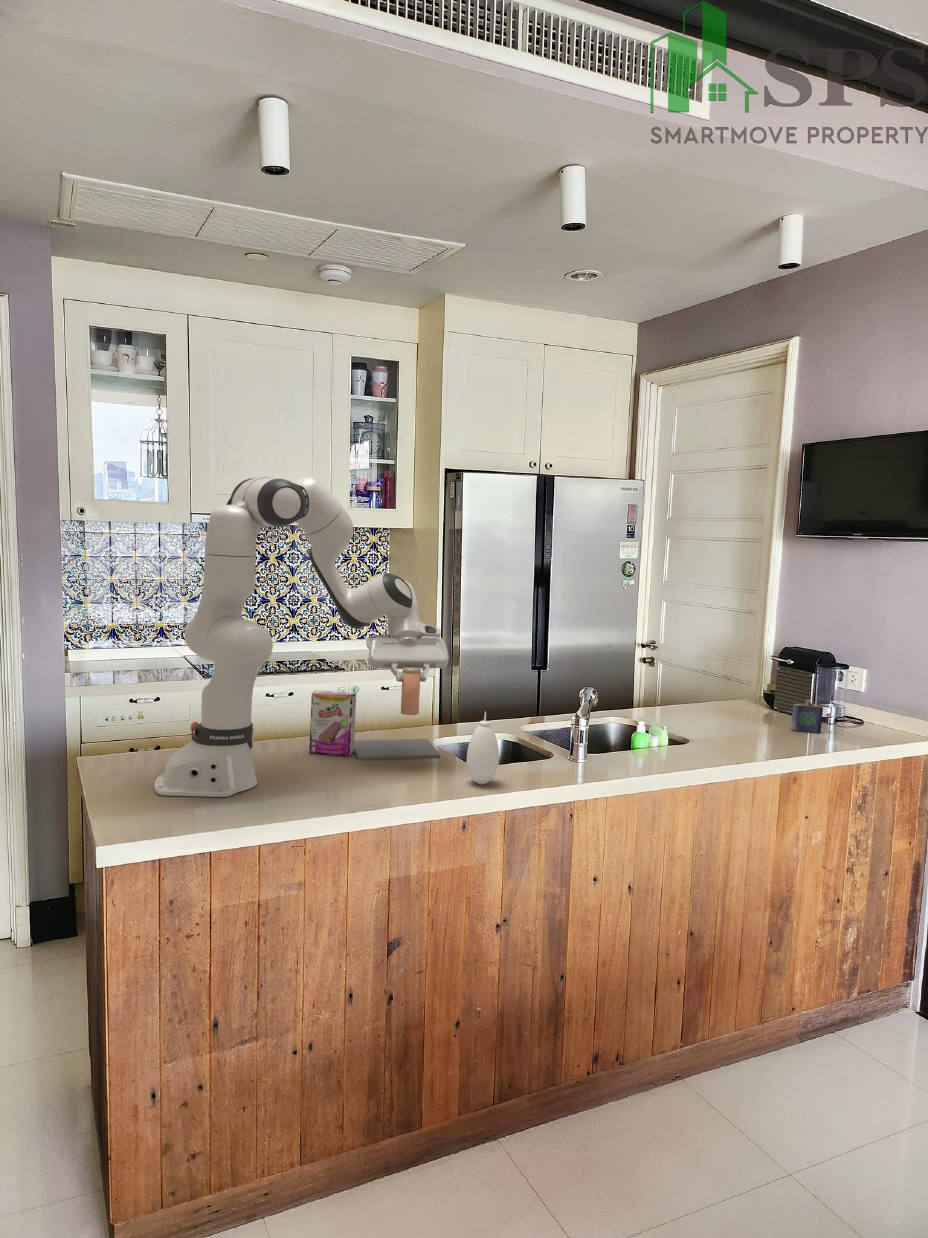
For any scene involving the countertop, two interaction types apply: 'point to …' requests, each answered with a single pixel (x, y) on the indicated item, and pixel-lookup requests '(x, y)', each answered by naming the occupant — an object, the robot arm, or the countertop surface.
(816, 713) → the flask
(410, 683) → the spice jar
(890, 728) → the countertop surface
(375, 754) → the mat
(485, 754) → the white air blower bulb
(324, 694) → the candy bar box
